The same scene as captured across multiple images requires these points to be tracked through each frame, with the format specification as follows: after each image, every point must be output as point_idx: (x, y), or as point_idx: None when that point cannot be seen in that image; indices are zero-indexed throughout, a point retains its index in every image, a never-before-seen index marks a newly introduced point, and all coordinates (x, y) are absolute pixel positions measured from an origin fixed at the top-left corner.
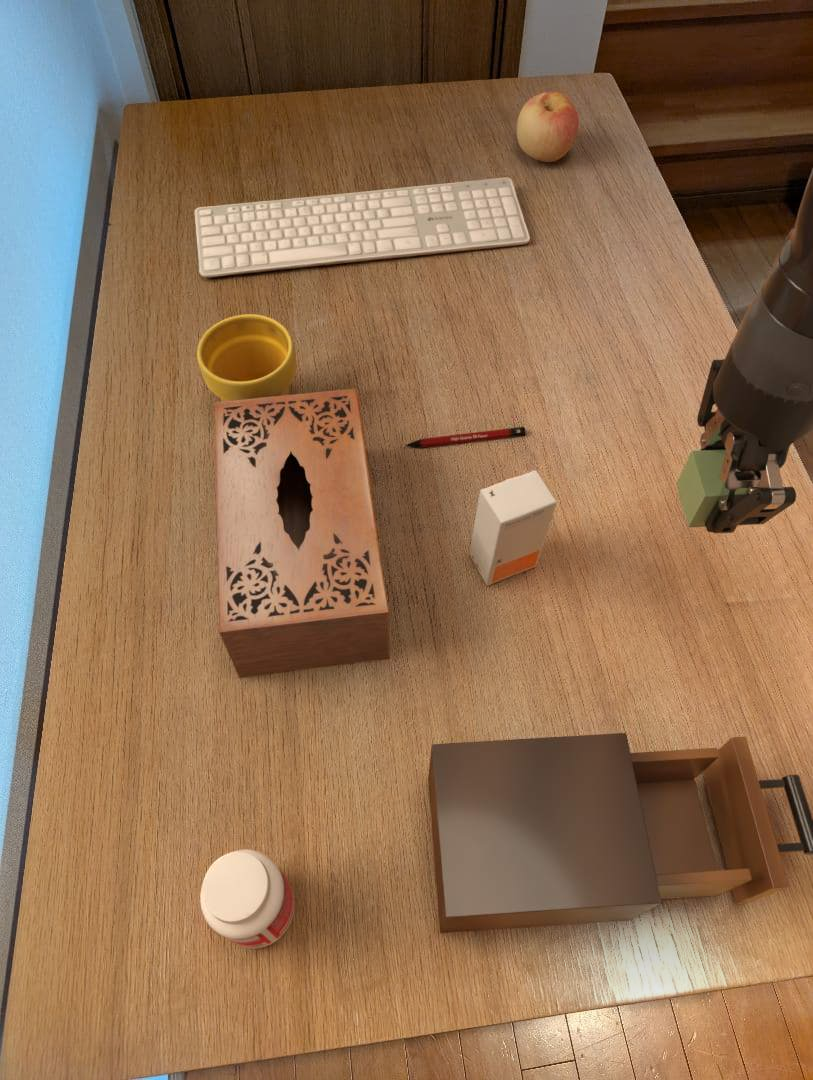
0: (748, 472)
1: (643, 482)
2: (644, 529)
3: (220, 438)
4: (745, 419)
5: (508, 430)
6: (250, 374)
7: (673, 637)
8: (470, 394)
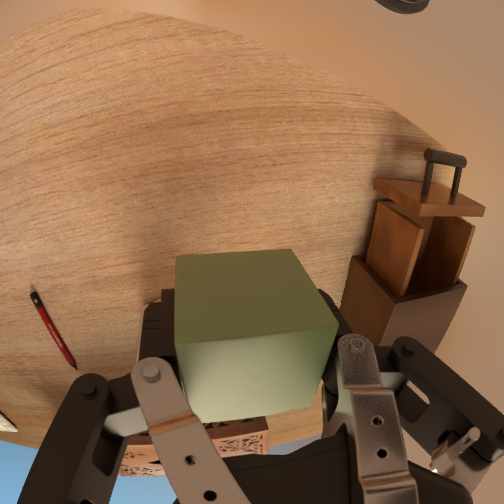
0: (345, 430)
1: (62, 183)
2: (120, 187)
3: (145, 475)
4: None
5: (38, 309)
6: None
7: (254, 177)
8: (15, 326)
